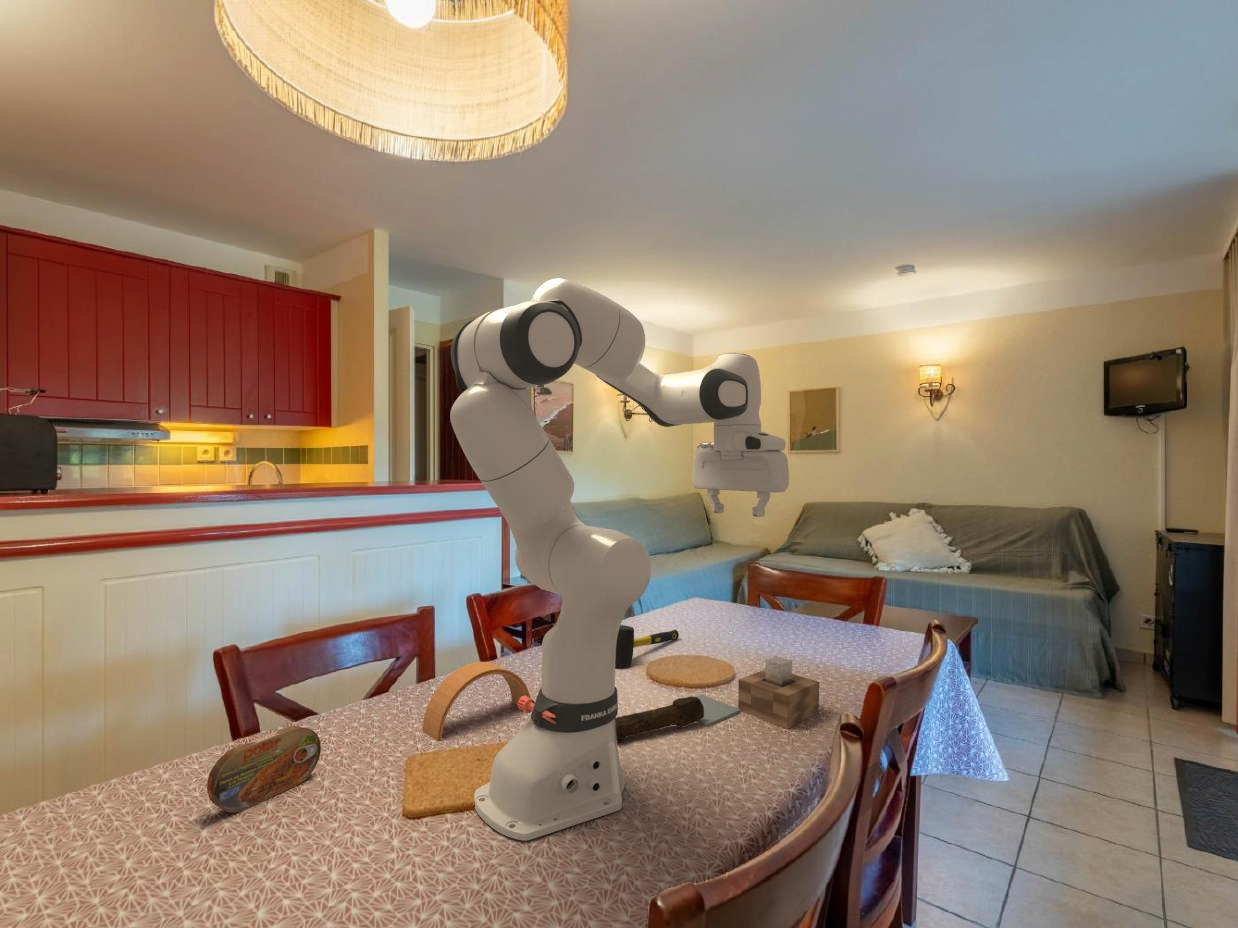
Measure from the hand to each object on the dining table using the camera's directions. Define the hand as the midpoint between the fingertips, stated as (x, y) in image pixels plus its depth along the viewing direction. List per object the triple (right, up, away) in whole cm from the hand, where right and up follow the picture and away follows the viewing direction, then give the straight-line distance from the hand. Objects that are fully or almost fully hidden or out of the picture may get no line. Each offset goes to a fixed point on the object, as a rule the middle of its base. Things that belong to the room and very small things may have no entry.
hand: (737, 514), depth 113 cm
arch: (-49, -39, 0) cm, 62 cm away
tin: (-74, -39, -26) cm, 87 cm away
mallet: (-15, -39, +40) cm, 58 cm away
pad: (-6, -39, +4) cm, 39 cm away
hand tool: (-16, -39, -4) cm, 42 cm away
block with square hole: (+9, -39, +4) cm, 40 cm away
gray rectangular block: (+9, -37, +4) cm, 38 cm away
